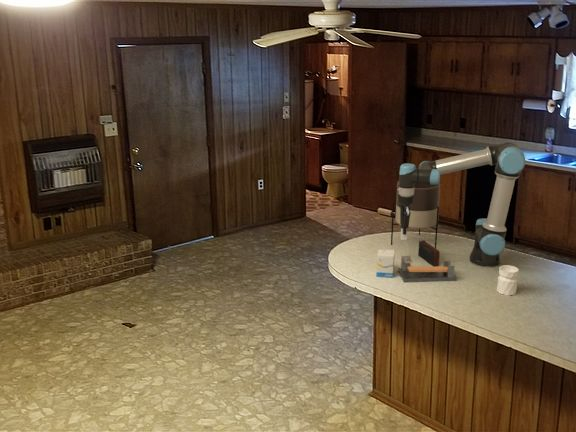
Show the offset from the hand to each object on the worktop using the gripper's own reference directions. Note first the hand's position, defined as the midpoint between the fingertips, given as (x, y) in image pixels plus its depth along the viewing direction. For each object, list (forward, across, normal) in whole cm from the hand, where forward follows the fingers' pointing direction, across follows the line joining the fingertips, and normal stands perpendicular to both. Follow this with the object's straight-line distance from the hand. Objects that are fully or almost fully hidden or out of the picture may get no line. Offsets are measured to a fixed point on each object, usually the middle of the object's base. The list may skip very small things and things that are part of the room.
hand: (403, 239), depth 326 cm
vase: (+15, +33, +42) cm, 56 cm away
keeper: (+13, +9, 0) cm, 16 cm away
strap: (+11, +14, +10) cm, 21 cm away
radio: (+16, -6, +16) cm, 23 cm away
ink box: (+16, +8, -10) cm, 20 cm away
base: (+15, +12, +10) cm, 22 cm away
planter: (+16, -34, +17) cm, 41 cm away
